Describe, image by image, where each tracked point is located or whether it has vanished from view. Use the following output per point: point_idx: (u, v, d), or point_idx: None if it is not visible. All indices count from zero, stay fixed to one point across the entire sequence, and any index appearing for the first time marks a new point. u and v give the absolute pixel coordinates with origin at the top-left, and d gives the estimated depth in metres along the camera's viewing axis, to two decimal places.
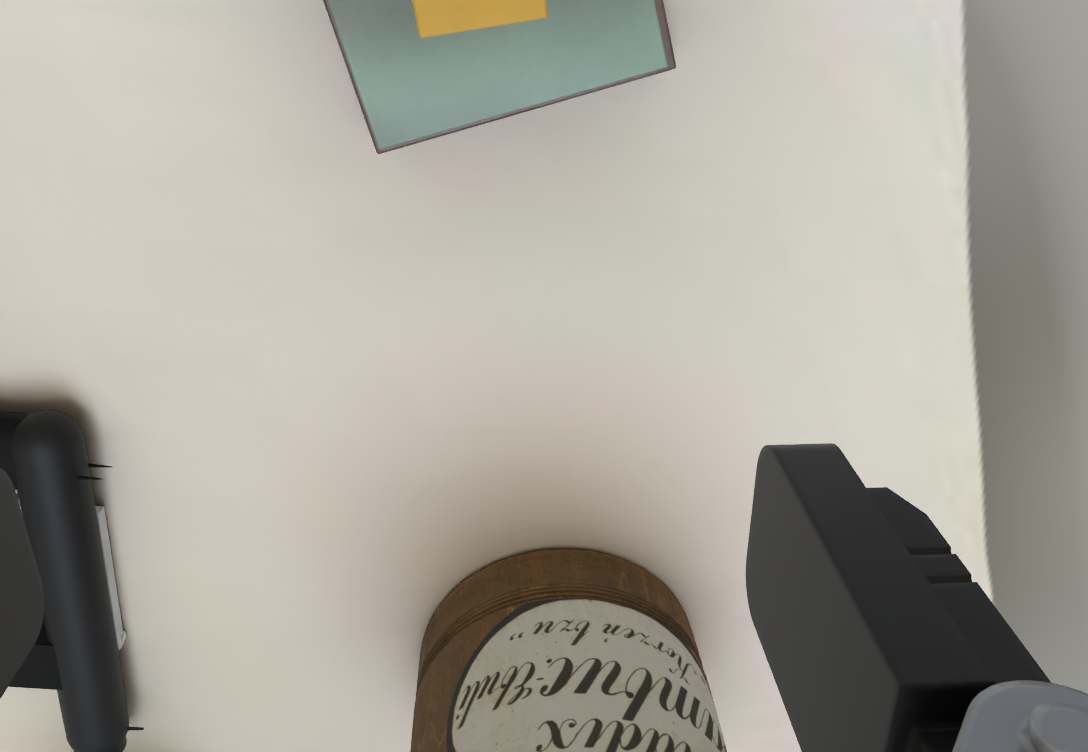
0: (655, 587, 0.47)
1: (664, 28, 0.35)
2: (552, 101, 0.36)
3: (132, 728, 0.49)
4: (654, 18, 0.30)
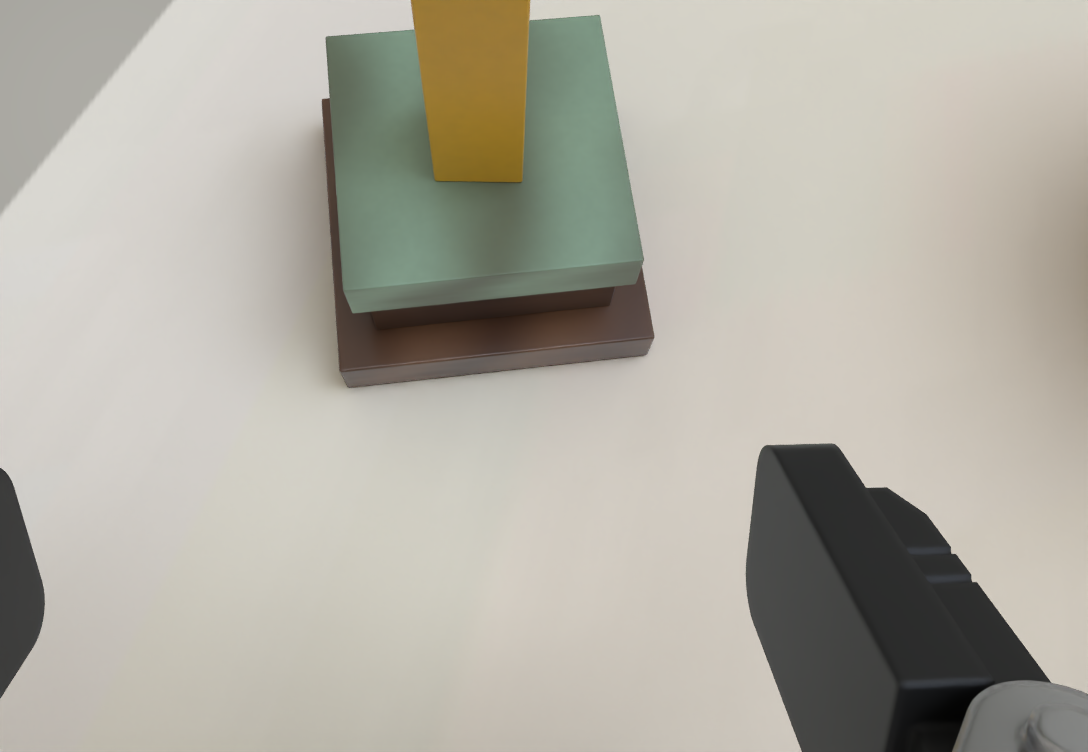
0: None
1: None
2: None
3: None
4: (557, 20, 0.34)
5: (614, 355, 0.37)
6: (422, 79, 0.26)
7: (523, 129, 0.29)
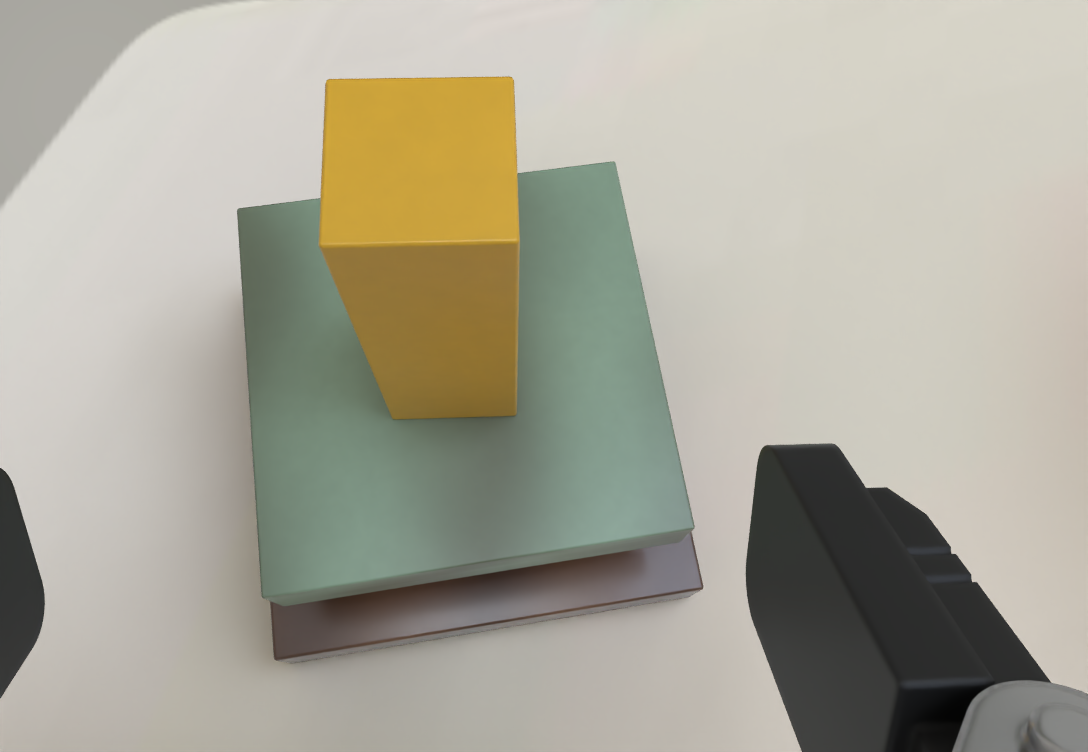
0: None
1: None
2: None
3: None
4: (557, 171, 0.25)
5: (647, 603, 0.27)
6: (356, 331, 0.17)
7: (515, 371, 0.19)
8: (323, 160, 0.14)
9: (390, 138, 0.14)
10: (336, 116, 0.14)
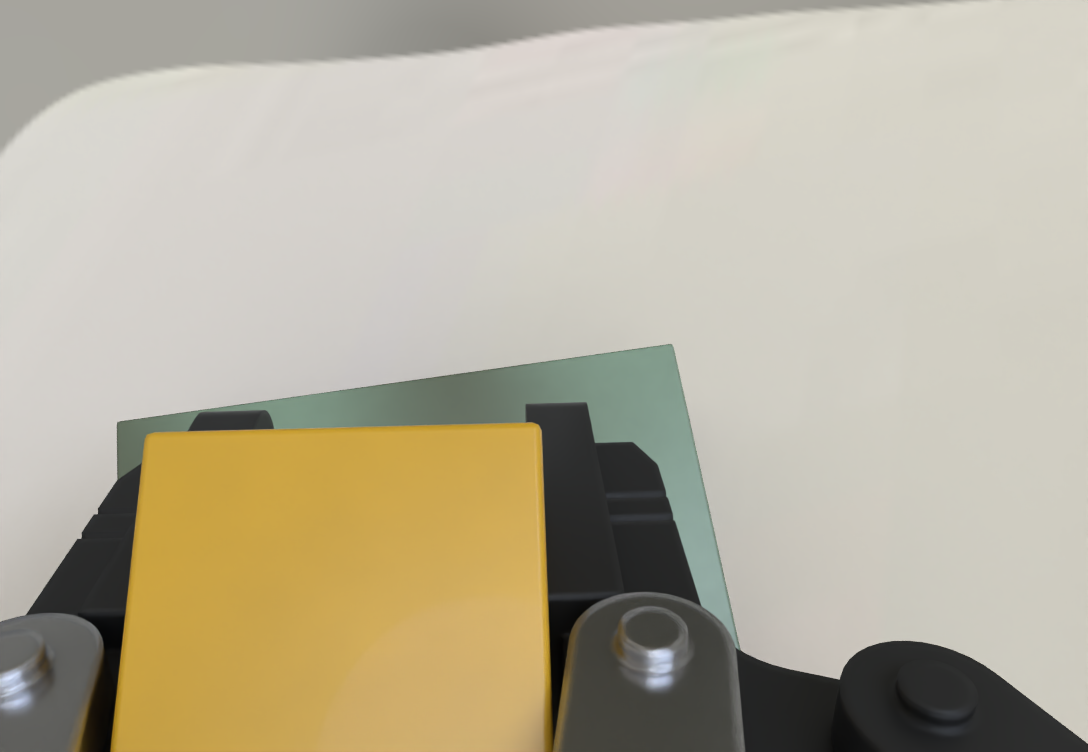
0: None
1: None
2: None
3: None
4: (589, 361, 0.17)
5: None
6: None
7: None
8: (124, 639, 0.06)
9: (274, 580, 0.07)
10: (160, 526, 0.07)
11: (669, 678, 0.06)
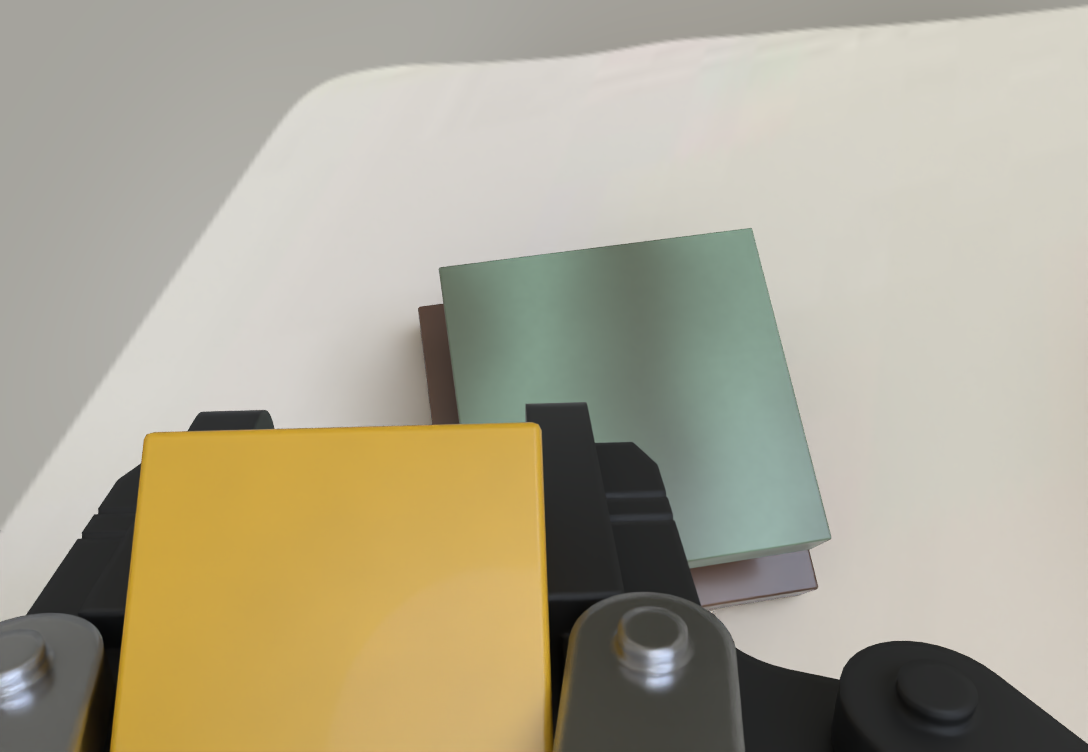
0: None
1: None
2: None
3: None
4: (704, 236, 0.29)
5: (766, 599, 0.32)
6: None
7: None
8: (123, 639, 0.06)
9: (274, 580, 0.07)
10: (159, 527, 0.07)
11: (668, 678, 0.06)
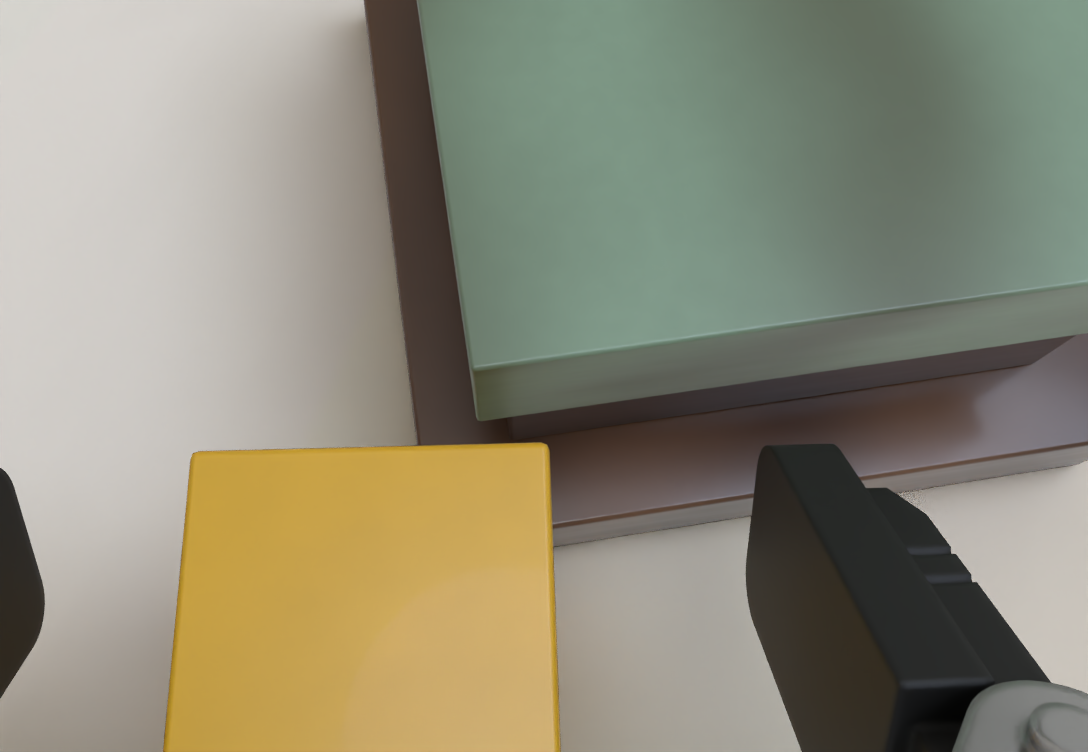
0: None
1: None
2: None
3: None
4: None
5: (1019, 470, 0.17)
6: None
7: None
8: (175, 638, 0.07)
9: (309, 585, 0.07)
10: (206, 537, 0.07)
11: None
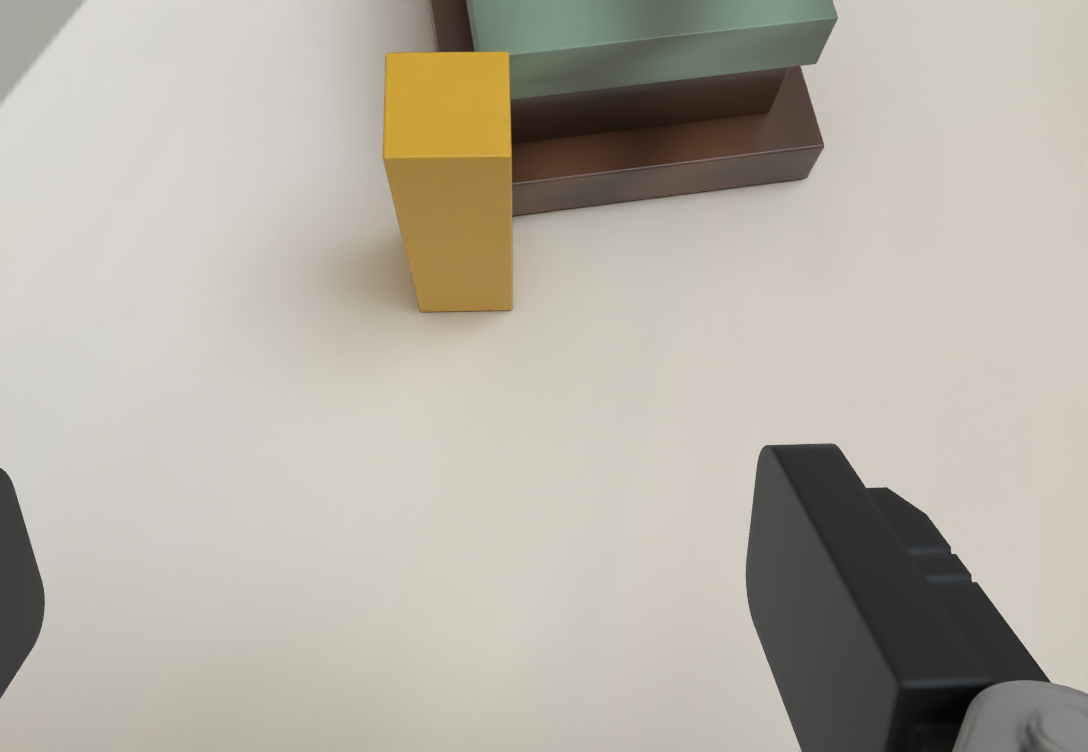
0: None
1: None
2: None
3: None
4: None
5: (771, 177, 0.32)
6: (401, 228, 0.25)
7: (511, 266, 0.27)
8: (385, 104, 0.22)
9: (428, 90, 0.22)
10: (393, 76, 0.22)
11: None
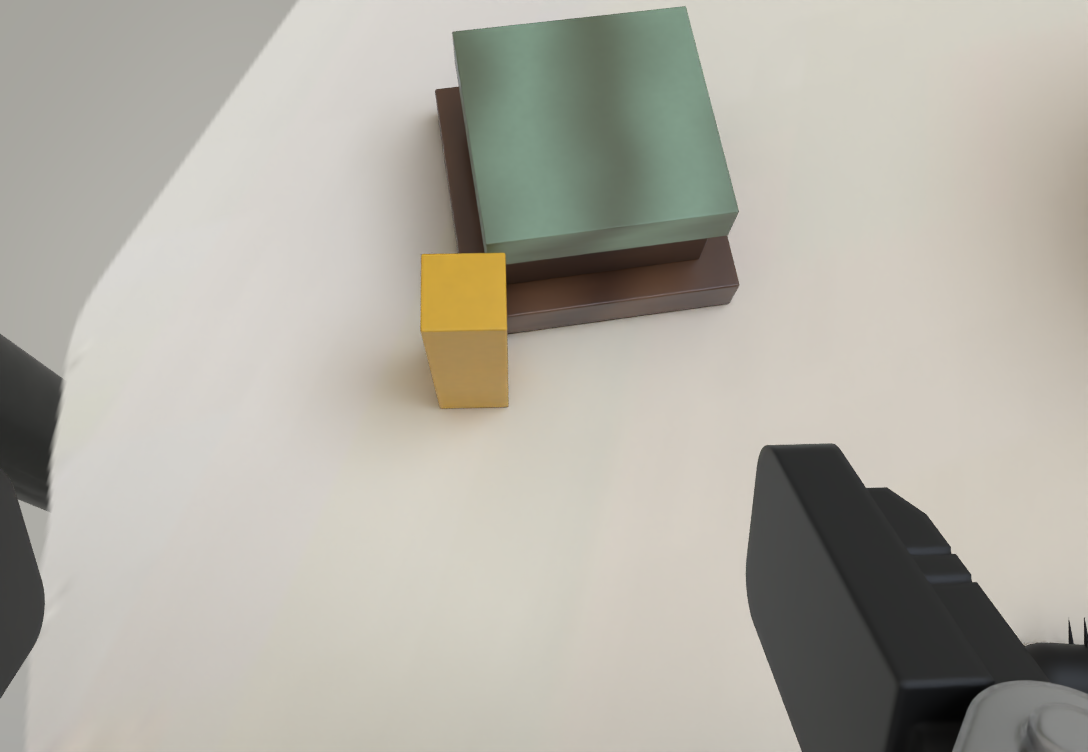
0: None
1: None
2: None
3: None
4: (650, 12, 0.39)
5: (702, 304, 0.42)
6: (429, 364, 0.35)
7: (507, 383, 0.38)
8: (421, 292, 0.32)
9: (450, 282, 0.33)
10: (426, 272, 0.33)
11: None
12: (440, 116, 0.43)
